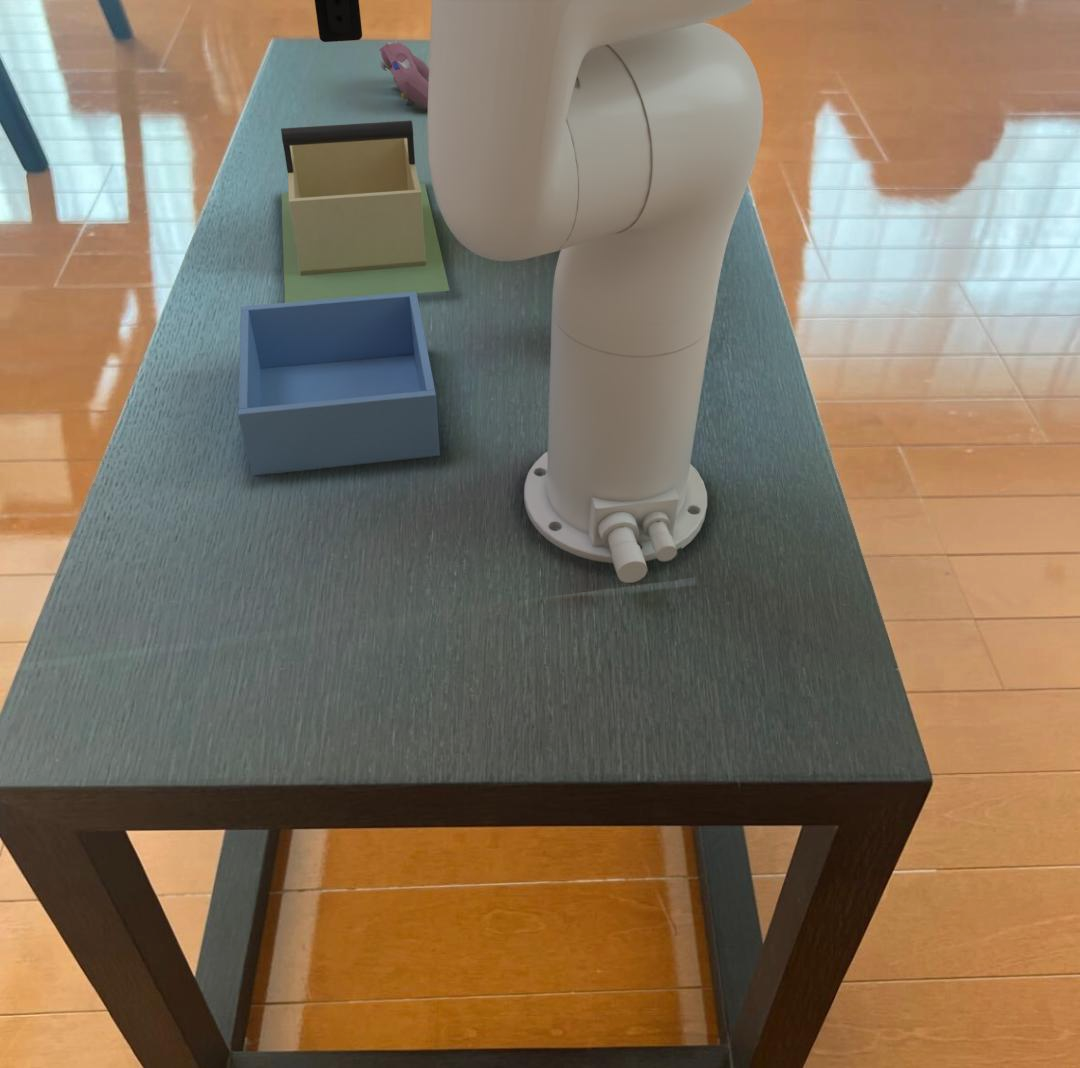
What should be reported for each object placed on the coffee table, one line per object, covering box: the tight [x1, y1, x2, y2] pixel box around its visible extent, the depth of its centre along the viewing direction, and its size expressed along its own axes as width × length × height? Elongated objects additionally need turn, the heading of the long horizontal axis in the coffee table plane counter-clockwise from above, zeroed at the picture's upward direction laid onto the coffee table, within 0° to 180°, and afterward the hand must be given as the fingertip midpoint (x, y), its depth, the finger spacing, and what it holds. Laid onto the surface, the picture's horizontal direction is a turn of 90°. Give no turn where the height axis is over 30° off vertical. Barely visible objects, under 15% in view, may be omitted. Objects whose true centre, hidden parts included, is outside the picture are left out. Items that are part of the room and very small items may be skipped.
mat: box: [281, 182, 451, 303], centre depth 99 cm, size 20×14×1 cm
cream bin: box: [280, 119, 426, 275], centre depth 94 cm, size 11×11×11 cm
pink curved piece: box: [379, 39, 429, 110], centre depth 120 cm, size 10×5×7 cm, turn 17°
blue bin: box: [237, 292, 441, 476], centre depth 79 cm, size 13×13×6 cm
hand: (338, 18), depth 84 cm, fingers open, 9 cm apart
